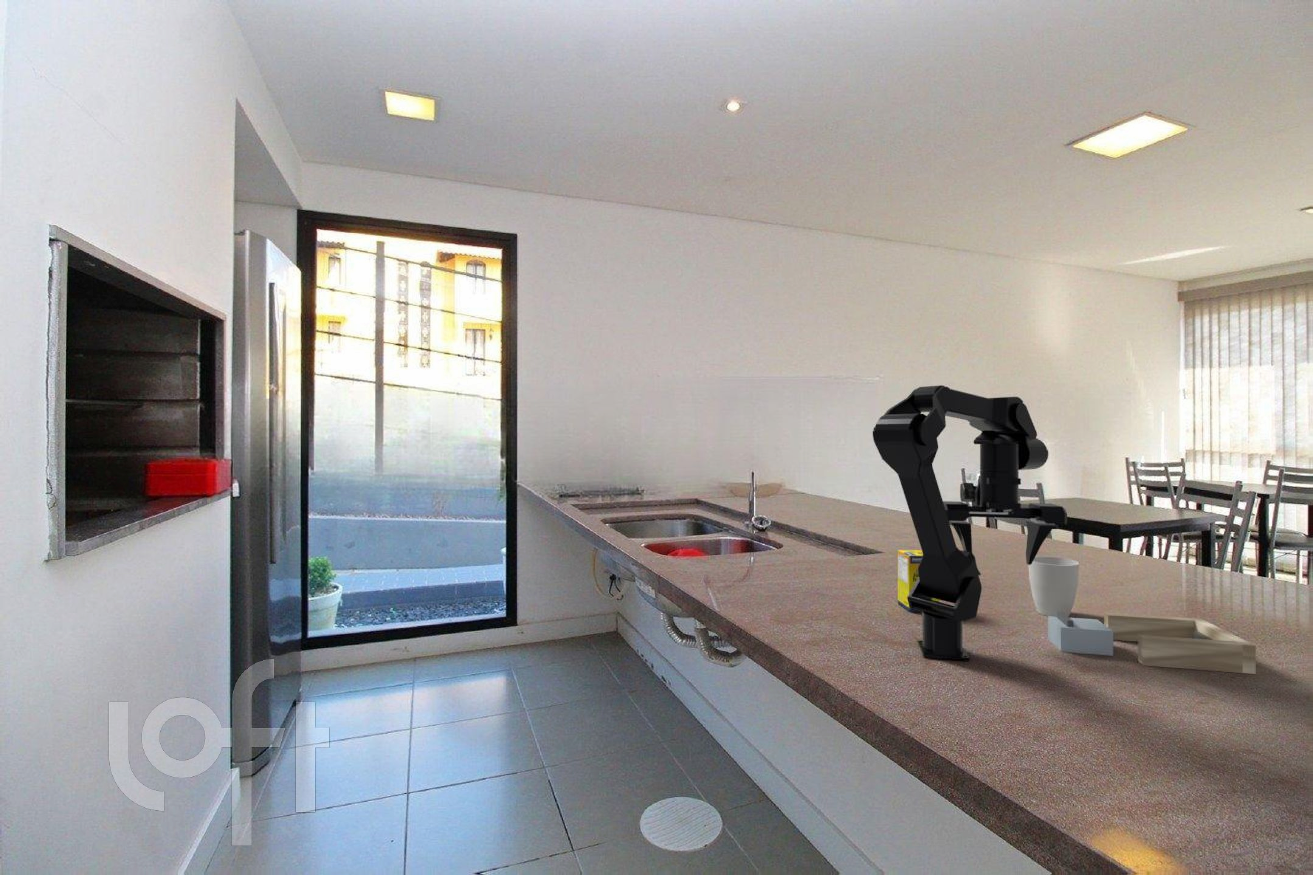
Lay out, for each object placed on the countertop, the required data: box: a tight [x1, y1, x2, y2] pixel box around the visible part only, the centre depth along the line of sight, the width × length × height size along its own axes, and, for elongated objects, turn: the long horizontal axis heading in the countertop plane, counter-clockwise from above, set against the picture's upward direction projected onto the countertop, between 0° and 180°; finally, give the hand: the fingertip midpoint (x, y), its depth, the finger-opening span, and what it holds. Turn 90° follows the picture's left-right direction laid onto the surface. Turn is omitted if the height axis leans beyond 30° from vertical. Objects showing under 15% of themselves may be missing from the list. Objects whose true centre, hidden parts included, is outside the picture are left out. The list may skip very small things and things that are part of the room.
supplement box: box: [897, 549, 940, 613], centre depth 120 cm, size 6×6×11 cm
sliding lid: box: [1047, 612, 1114, 657], centre depth 98 cm, size 6×7×5 cm
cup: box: [1028, 555, 1080, 617], centre depth 115 cm, size 8×8×10 cm
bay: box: [1103, 612, 1257, 675], centre depth 94 cm, size 13×14×4 cm
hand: (998, 563), depth 104 cm, fingers open, 9 cm apart
